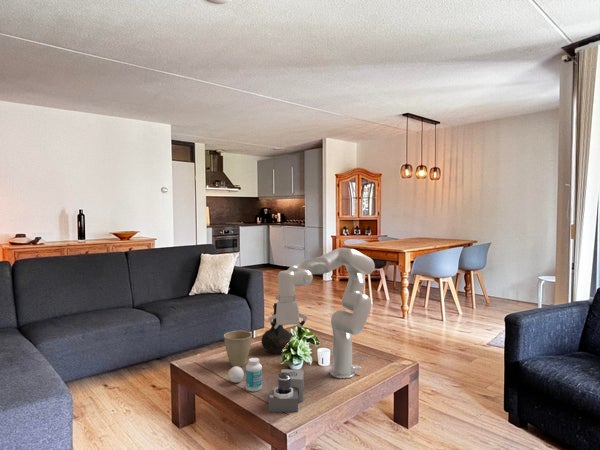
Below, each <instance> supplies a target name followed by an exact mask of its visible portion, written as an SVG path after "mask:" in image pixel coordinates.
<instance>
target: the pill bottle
mask: <svg viewBox="0 0 600 450" xmlns="http://www.w3.org/2000/svg"><path fill="white" fill-rule="evenodd" d="M262 388H263V366H262V364H261V363H260V358H258V357H251V358H249V359H248V363H247V364H246V366H245V389H246V391H249V392H258V391H260V390H261V389H262Z"/></svg>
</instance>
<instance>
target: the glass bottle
mask: <svg viewBox="0 0 600 450" xmlns="http://www.w3.org/2000/svg"><path fill="white" fill-rule="evenodd" d="M272 307H273V315H275V314H276V309H277V302H275V303H273V306H272ZM272 321H273V322H274V323H275V324H276V318H275V319H273V320H272ZM291 335H292V333H291V332H290V331H288V330H287V329H285V328H284V325H279V326H278V337H277V335H275V328H274V327H273V326H272V325H271V327H270V329H268V330H266V331H265V332H264V333H263V334H262V336H261V340H260V341H261V345H262V347H263V349H264V350H265V351H267V352H268V353H272V354H282V353H281V351H282V349H283V348H284V347H285V345H286V344H287V343H288V342H289V340H290V338H291Z"/></svg>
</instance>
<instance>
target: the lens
mask: <svg viewBox="0 0 600 450" xmlns="http://www.w3.org/2000/svg"><path fill="white" fill-rule="evenodd" d="M290 378H291V376H290V374H289V373H286V372H282V373H281V372H280V373H278V375H277V379H278V380H277V383H278V385H277V387H278V393H279V394H288V393H290Z"/></svg>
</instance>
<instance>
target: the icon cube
mask: <svg viewBox="0 0 600 450" xmlns="http://www.w3.org/2000/svg"><path fill="white" fill-rule="evenodd" d="M282 372H286V373H289V374H290V376H291V378H290V387H291V388H293V389H298V403H303V402H304V393H305V391H304V390H305V388H304V387H305V385H304V384H305V379H304V378H305V376H304V375H305V374H304V373H305V369H288V368H287V369H286V368H284V369H281V372H280V373H282Z"/></svg>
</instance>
